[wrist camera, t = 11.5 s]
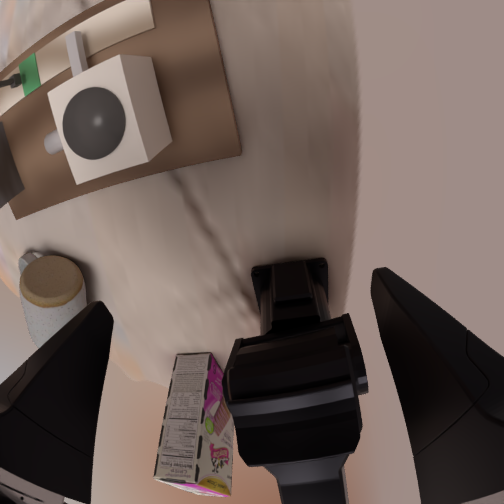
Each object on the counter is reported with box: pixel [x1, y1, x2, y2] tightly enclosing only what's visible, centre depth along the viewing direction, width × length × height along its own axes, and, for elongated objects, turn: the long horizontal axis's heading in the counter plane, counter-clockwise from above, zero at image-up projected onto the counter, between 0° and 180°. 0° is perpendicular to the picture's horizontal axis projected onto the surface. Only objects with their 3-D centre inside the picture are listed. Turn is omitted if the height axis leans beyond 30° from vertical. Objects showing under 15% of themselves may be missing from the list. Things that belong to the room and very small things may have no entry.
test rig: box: [0, 0, 242, 220], centre depth 13 cm, size 14×23×7 cm, turn 100°
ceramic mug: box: [19, 253, 87, 348], centre depth 23 cm, size 11×8×8 cm
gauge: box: [44, 31, 172, 185], centre depth 13 cm, size 10×8×5 cm
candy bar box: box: [153, 353, 234, 497], centre depth 28 cm, size 11×5×16 cm, turn 13°
